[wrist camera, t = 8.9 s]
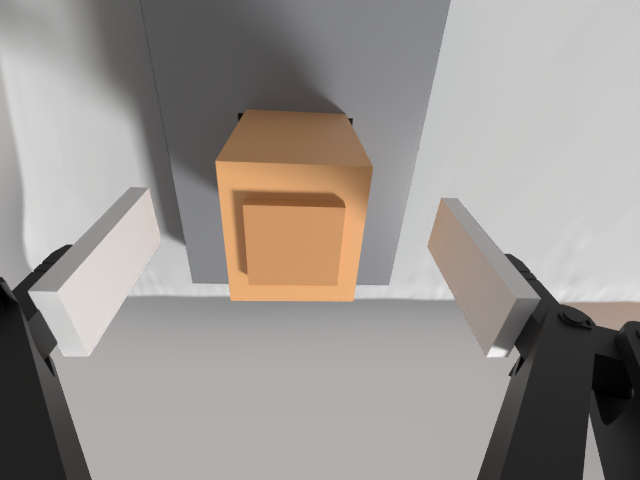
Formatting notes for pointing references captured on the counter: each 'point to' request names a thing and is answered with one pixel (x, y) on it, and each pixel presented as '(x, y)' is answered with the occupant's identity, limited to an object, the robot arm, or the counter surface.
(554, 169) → the counter surface
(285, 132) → the plug
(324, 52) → the socket
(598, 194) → the counter surface
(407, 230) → the counter surface
